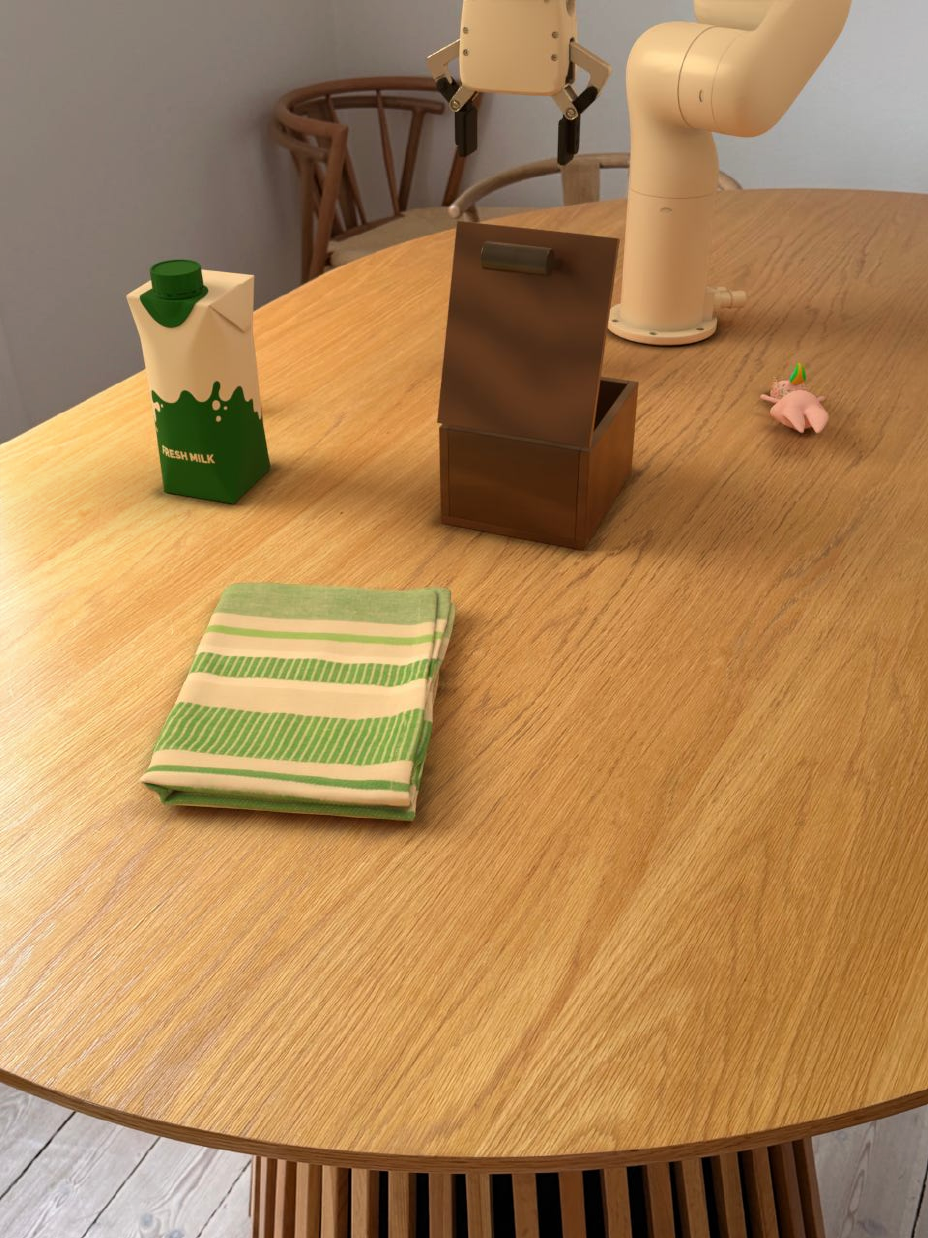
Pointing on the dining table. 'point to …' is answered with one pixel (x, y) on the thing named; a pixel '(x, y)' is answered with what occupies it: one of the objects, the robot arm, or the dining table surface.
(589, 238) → the lid
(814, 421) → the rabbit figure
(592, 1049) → the dining table surface
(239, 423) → the milk carton
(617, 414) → the chest
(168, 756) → the dish towel
